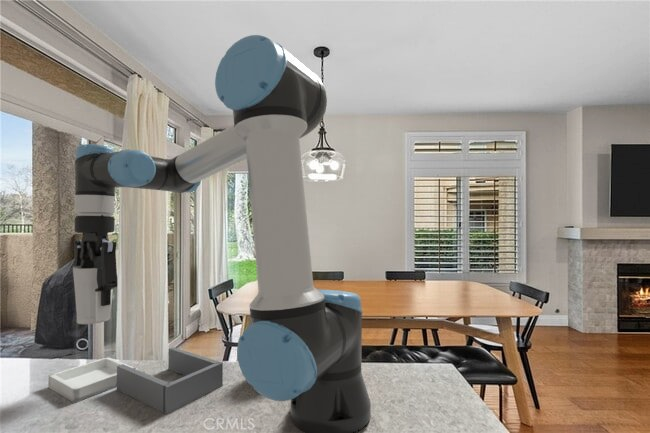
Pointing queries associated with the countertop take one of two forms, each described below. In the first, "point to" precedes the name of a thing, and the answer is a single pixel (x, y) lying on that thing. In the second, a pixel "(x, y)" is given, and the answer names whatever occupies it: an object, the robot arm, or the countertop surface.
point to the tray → (86, 379)
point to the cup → (86, 294)
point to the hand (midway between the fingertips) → (93, 317)
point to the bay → (171, 396)
